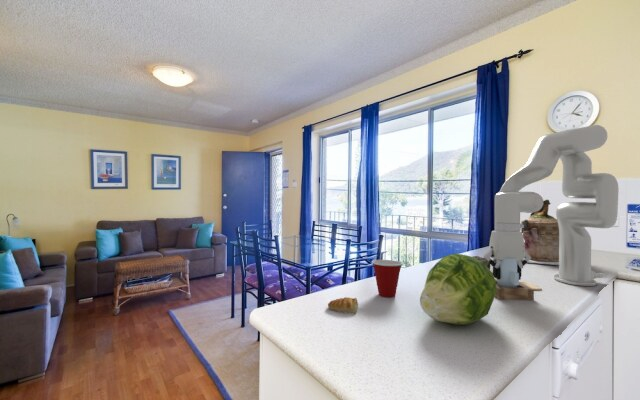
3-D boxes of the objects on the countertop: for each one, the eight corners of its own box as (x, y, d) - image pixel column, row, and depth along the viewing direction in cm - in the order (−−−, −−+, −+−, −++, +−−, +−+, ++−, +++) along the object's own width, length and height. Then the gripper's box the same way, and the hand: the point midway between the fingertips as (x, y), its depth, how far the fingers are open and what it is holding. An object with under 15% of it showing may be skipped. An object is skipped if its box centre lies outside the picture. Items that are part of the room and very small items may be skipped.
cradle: (514, 288, 106) (514, 279, 105) (533, 300, 95) (533, 289, 95) (483, 288, 107) (483, 279, 106) (498, 299, 96) (498, 288, 96)
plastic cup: (405, 291, 104) (405, 259, 104) (400, 302, 94) (400, 266, 94) (375, 287, 109) (375, 256, 108) (368, 297, 99) (367, 263, 98)
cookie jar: (568, 258, 153) (568, 198, 152) (579, 268, 132) (580, 199, 132) (513, 253, 166) (513, 198, 166) (515, 262, 145) (515, 199, 145)
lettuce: (399, 314, 85) (400, 260, 80) (449, 288, 96) (452, 238, 91) (456, 356, 70) (461, 291, 65) (508, 319, 81) (516, 261, 76)
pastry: (326, 313, 87) (326, 300, 87) (329, 304, 93) (329, 293, 93) (357, 315, 85) (357, 302, 85) (358, 306, 92) (358, 294, 92)
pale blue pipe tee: (509, 290, 104) (509, 254, 104) (526, 300, 94) (526, 261, 94) (492, 289, 105) (492, 254, 104) (507, 299, 95) (507, 261, 95)
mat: (528, 283, 112) (528, 281, 112) (542, 290, 104) (542, 288, 104) (506, 283, 112) (506, 281, 112) (518, 289, 104) (518, 288, 104)
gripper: (526, 226, 103) (526, 275, 103) (476, 226, 105) (476, 275, 105) (540, 228, 96) (540, 282, 96) (486, 228, 97) (486, 281, 97)
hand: (506, 278), depth 100 cm, fingers closed on pale blue pipe tee, 6 cm apart
